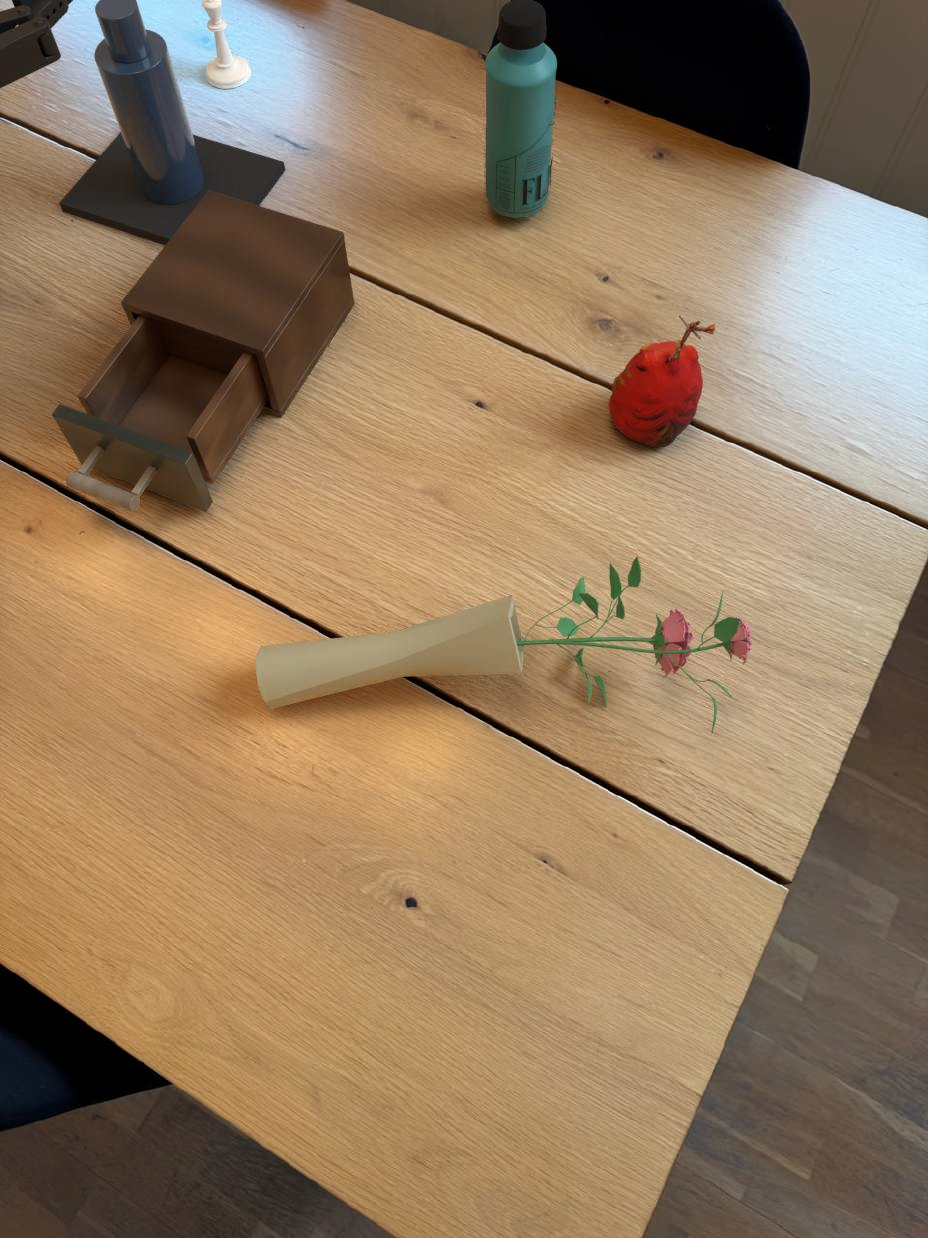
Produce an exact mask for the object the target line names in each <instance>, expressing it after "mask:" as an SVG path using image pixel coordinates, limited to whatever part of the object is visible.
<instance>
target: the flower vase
mask: <svg viewBox="0 0 928 1238" xmlns="http://www.w3.org/2000/svg"><path fill="white" fill-rule="evenodd" d="M641 581H642V568H641V564H640V560H639V557H638V555H637V556H636V557H635V558H634V560H632V563H631V567H630V570H629V573H628V574H627V585H626V586H625V587H624V588H623V585H622V581H621V578H620V574H619V573H618V571H617V570H616V568H615V567H614V566H613V564H612V562H609V587H610V598H611V599H612V600H611V601H610V605H609V609H608V613H607V616H606V619H605V620H604V622H603V623H602V625H601V626H600V627H599V628H598V629H597V630H596V631H595V632H594V633H593V634H592V635H591V636H590V637H573V636H576V634H577V633H578V631H579V629H580V628H579V627H580V626H582V625H583V624H587V623H588V622H590V621H592V620H594V619H597V620H599V605H600V604H599V602H598V600H597V598H596V597H594V596H593V595H591V594H590V593H586V584H585V583H586V582H585V576H582V577H580V578H579V580H578V581H577V584H576V585H575V587H574V588H573V591H572V597H571V600H570V601H569V602H567V603H566V604H565V605H563V606H560V608H557V609H556V610H554V611H552V612H550V613H548V614H546V615H544V616H543V617H541V618H539V620H537V621H536V622H535V623H534V624H532V626H531V627H530V629H529V630H528V631H527V633H526V635H525V637H524V639H523V636H522V632H521V628H520V623H519V618H518V614H517V609H516V604H515V600H514V596H513V594H509V595H507V596H504V597H500V598H497V599H493V600H491V601H488V602H484V603H481V604H478V605H474V606H471V607H468V608H465V609H462V610H459V611H456V612H452V613H449V614H446V615H443V616H440V617H436V618H433V619H429V620H426V621H424V622H421V623H418V624H414V625H411V626H408V627H404V628H401V629H398V630H394V631H389V632H382V633H381V632H380V633H371V634H360V635H352V636H351V635H350V636H344V637H343V636H342V637H334V638H325V639H314V640H313V639H312V640H305V641H295V642H286V643H285V642H284V643H278V644H276V643H275V644H267V645H260V646H259V649H258V651H257V653H256V655H255V675H256V681H257V687H258V690H259V692H260V695H261V697H262V700H263V702H264V704H266V705H267V707H269V708H270V709H271V710H273V709H277V708H281V707H285V706H289V705H292V704H296V703H297V704H298V703H301V702H305V701H309V700H313V699H316V698H321V697H325V696H329V695H334V694H338V693H342V692H346V691H350V690H353V689H354V690H355V689H358V688H361V687H362V688H363V687H365V686H370V685H374V684H378V683H383V682H386V681H391V680H394V679H398V678H404V677H425V676H427V677H428V676H473V675H477V676H478V675H479V676H480V675H519V674H522V671H523V664H524V657H525V649H526V647H525V646H537V645H557V646H559V647H560V648H561V649H563V650H565V652H567V653H568V654H569V655H571V657H573V658H574V661H576V664H577V665H578V666H579V669H580V671H581V672H582V673H583V674H584V676H585V677H586V680H587V706H589V704H590V702H591V698H592V696H593V695H592V694H593V693H592V692H593V685H592V681H591V678H593V680H594V681H595V683H596V685H597V687H598V688H599V690H600V692H601V696H602V698H603V699H602V700H603V702H604V705H605V708H607V707H608V705H607V703H608V702H607V691H606V687H605V682H604V680H603V678H602V676H601V675H600V674H598V675H594V676H593V675H592V674H590V673H589V672H588V671H587V670H586V669H585V668H584V663H583V654H584V649H585V648H584V647H594V648H595V647H596V648H605V649H614V650H615V649H616V650H621V651H630V652H637V653H645V654H653V655H654V658H655V659H656V660H655V665H654V666H657V665H658V664H659V665H660V667H661V669H660V670H661V672H664V674H665V675H663V676H662V679H664V678H667V676H668V675H669V674H670V673H671V672H672V671H673V672H672V674H673V675H675V674H676V673H677V672H678V671H679V669H680V670H681V671H682V672H683V673H684V674H685V675H686V676H687V677H688V678H689V679H690V680H691V681H692V682H693V683H694V684H695V685H696V686H698V687H699V688H700V689H701V690H702V691H704V692H705V693H706V694H708V695H709V696H710V698H711V700H712V703H713V708H714V709H713V720H712V727H711V734H713V733H714V730H715V726H716V722H717V714H718V703H717V699H716V698H715V697H714V696H713V695H712V694H711V693H709V692H708V691H707V690H705V688H703V687H702V686H701V685H700V684H698V683H697V682H699V683H706V682H711V683H713V684H715V685H717V687H719V688H720V689H721V690H723V692H725V694H726V695H728V697H730V698H732V695H731V694H730V692H729V691H728V690H727V688H725V687H724V686H723V685H722V684H721V683H720V682H718V681H716V680H714V679H710V678H707V679H706V680H705V679H704V680H699V679H696V678H694V677H692V676H691V675H690V674H689V673H687V672H686V670H684V669H683V667H684V666H685V665H686V664H687V663H688V660H687V658H689V657H690V656H691V654H693V653H697V652H698V653H699V652H702V651H708V650H712V649H717V648H720V647H723V648H724V649H725V651H726V653H727V654H728V655H729V658H730V659H729V661H730V662H732V660H733V659H732V658H733V656H735V657H737V658H738V659H739V660H740V659H742V660H743V662H742V663H741V664H742V665H744V664H746V663H748V656H749V653H750V652H751V650H752V645H753V642H752V641H751V639H752V634H751V632H750V631H751V627H750V625H748V624H746V623H745V622H744V621H743V619H742V618H741V617H740V615H738V616H735V617H732V616H728V617H726V618H723V619H721V620H719V621H718V619H719V617H720V613H721V609H722V606H723V599H724V598H723V596H724V591H722V592H721V595H720V601H719V605H718V608H717V611H716V615H715V616H714V617H715V618H714V619H713V621H712V622H711V623H710V624H709V625H708V626H707V627H706V628H705V629H704V631H703V632H702V634H701V644H699V646H697V647H696V648H692V647H691V646H689V644H691V642H692V641H693V640H694V634H693V632H690V630H691V629H692V624H691V623H690V622H688V621H687V619H686V617H685V614H684V612H681V611H680V610H679V609H678V608H677V607H675V608H674V610H675V611H674V610H673V609H670V610H669V615H668V617H666V618H665V619H664V620H663V621H662V619H661V618H660V616H659V615H658V614H657V613H655V617H656V622H657V624H656V628H655V632H654V635H652V637H636V636H635V637H633V636H595V635H597V633H598V632H600V630H601V629H602V628H603V627H604V626H605V625H606V623H608V622H609V621H610V620H611V619H612V618H613V617H615V618H618V619H621V620H624V618H625V616H626V612H625V605H624V603H623V600H622V597H621V595H622V594H623V592H624V591H625V590H626V589H627V588H636V589H638V588H639V586H640V584H641ZM614 601H615V602H614ZM572 602H574V603H575V604H576V605H579V606H581V605H582V604H583V603H584V604H585V605H586V606H587V608H588V609H590V611H591V612H592V613H593V615H594V616H593V617H592V618H590V619H588V620H586V621H584V622H582V623H580V624H578V625H577V624H576V622H575V621H574V619H572V618H569V617H567V616H566V617H564V616H563V617H560V618H559V621H558V623H557V625H556V626H543V625H539V624H538V623H539V622H541V620H543V619H545V618H546V617H549V616H550V615H552V614H554V613H556V612H558V611H559V610H562V609H563V608H565V607H567V606H568V605H570V604H571V603H572ZM613 602H614V604H613ZM612 604H613V607H612ZM614 608H615V615H612V613H613V611H614ZM535 626H537V627H540V628H543V629H545V628H546V629H548V628H549V629H550V628H551V629H553V628H555V629H557V630H558V631H559V633H560V634H561V636H562V637H563V638H554V639H551V638H550V639H535V640H534V639H533V640H526V639H527V638H528V635H529V634H530V632H531V630H532V629H533V628H534V627H535ZM713 626H714V628H713V629H714V630H713V636H712V637H710V638H708V639H706V640H705V641H704V640H703V639H704V638H703V637H704V634H705V633H706V631H707V630H708V629H709V628H711V627H713ZM564 637H565V638H564ZM571 637H572V638H571ZM712 639H717V640H718V641H720V642H719V643H715V644H712V645H706V646H703V645H704V644H706V643H707V642H709V641H711V640H712ZM599 642H600V643H599ZM601 642H602V643H601ZM603 642H606V643H603ZM607 642H636V643H637V642H642V643H649V644H651V645H652V647H653V648H652V649H646V648H638V647H631V646H625V645H624V646H623V645H617V644H616V645H615V644H607ZM562 645H564V646H565V645H567V646H584V647H581V648H580V649H579V650H578V651H577V652H576V654H575V655H573V654H572V653H571V652H570V651H569V650H568V649H566V648H565V647H563V646H562Z"/></svg>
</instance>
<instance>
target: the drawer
mask: <svg viewBox="0 0 928 1238" xmlns="http://www.w3.org/2000/svg"><path fill="white" fill-rule="evenodd" d="M77 398H78V400H79V402H80V404H81V406H82V408H83V409H84V411H85V412H83V411H80V410H77V409H75V408H72V407H69V406H67V405H64V404H61V403H59V404H58V405H57V406H56V408H55V409H54V410H53V412H52V413H51V416H52V418H53V419H54V421H55V422H56V424H57V426H58V428H59V429H60V431H61V433H62V435H63V436H64V438H65V439H66V442H67V443H68V445H69V446H70V448H71V450H72V452H73V453H74V455H75V456H76V458H77V460H78V461H79V463H80V465H81V466H80V468H78V470H77V471H76V470H74V471H71V472H69V473H68V475H67V476H66V481H65V484H66V486H67V488H69V489H71V490H74V491H76V492H79V493H81V494H85V495H87V496H89V497H92V498H94V499H97V500H99V501H103V502H105V503H107V504H110V505H112V506H114V507H117V508H120V509H123V510H125V511H128V512H130V513H135V512H137V510H138V509H139V508H140V505H141V496H142V494H143V493H144V491H146V490H148V491H150V492H153V493H155V494H158V495H160V496H163V497H165V498H169V499H171V500H174V501H176V502H179V503H180V504H184V505H187V506H190V507H192V508H194V509H197V510H200V511H202V512H205V513H207V512H208V510H209V509H210V507H211V506H212V504H213V502H214V500H213V498H212V495H211V493H210V490H209V488H208V486H207V484H206V483H208V484H211V485H214V483H215V482H216V481H217V479H218V477H219V476H220V475H221V473H222V472H223V470H224V468H225V467H226V466H227V464H228V462H229V461H230V459H231V458H232V456H233V455H234V454H235V452H236V450H237V448H238V447H239V446H240V444H241V443H242V441H243V440H244V438H245V436H246V435H248V432H249V431H250V429H251V427H252V426H253V424H254V423H255V421H256V420H257V419H258V417H259V416H260V414H261V412H263V411H262V409H263V408H264V406H265V405H266V403H267V402H268V400H269V396H268V393H267V389H266V386H265V382H264V379H263V375H262V372H261V369H260V365H259V362H258V358H257V355H256V354H253V353H250V352H247V351H244V350H241V349H238V348H235V347H232V346H229V345H227V344H224V343H221V342H218V341H215V340H212V339H209V338H206V337H203V336H200V335H197V334H195V333H192V332H189V331H186V330H183V329H180V328H177V327H174V326H171V325H168V324H165V323H163V322H160V321H157V320H154V319H151V318H148V317H145V316H142V315H139V316H138V317H137V318H136V320H135V321H134V322H133V324H132V325H130V326H129V328H127V330H126V332H125V333H124V334H123V335H122V336H121V338H120V339H119V340H118V342H117V343H116V344H115V346H114V347H113V348H112V349H111V351H110V353H109V354H108V355H107V356H106V357H105V359H103V361H102V362H101V364H100V365H99V367H98V368H97V369H96V371H95V372H94V373H93V375H92V376H91V377H90V378H89V380H88V381H87V382H86V384H85V385H84V386H83V388H82V389H81V390H80V392H78V394H77ZM93 470H95V471H98V472H100V473H103V474H105V475H107V476H111V477H113V478H116V479H119V480H121V481H123V482H127V483H129V484H132V485H134V487H133V488H132V489H131V492H130V491H128V490H125V489H123V488H120V487H118V486H115V485H112V484H109V483H106V482H105V481H102V480H99V479H97V478H94V477H91V476H89V475H90V474H91V472H92V471H93Z"/></svg>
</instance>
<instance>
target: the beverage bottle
mask: <svg viewBox="0 0 928 1238" xmlns="http://www.w3.org/2000/svg"><path fill="white" fill-rule="evenodd" d="M497 24H498V25H497V30H496V36H497V40H498V41H499V43H497V44H496V45H495V46H493V48H491V50H489V52H488V53H487V56H486V58H485V62H484V68H485V143H483V146H485V148H483V151H485V153H483V155H484V156H485V161H484V164H483V165H484V167H483V168H484V170H483V172H484V173H485V174H483V176H484V177H485V182H484V183H483V184H484V186H485V191H484V194H485V196H486V200H487V202H488V204H489V206H490V207H491V209H492V210H493V211H494V212H496V213H497V214H500V215H502V216H505V217H509V218H513V219H514V218H515V219H519V218H528V217H531V216H534V215H536V214H537V213H539V212H540V211H541V210H542V209H543V208H544V207H545V206H546V203H547V202H548V200H549V197H550V194H551V191H550V190H551V186H552V185H551V184H552V167H553V158H554V157H553V155H552V149H553V146H554V144H553V143H554V139H553V132H554V131H553V129H554V125H555V124H556V122H554V119H556V118H555V113H556V110H555V108H556V107H557V103H556V100H557V96H556V89H557V88H556V75H557V73H556V72H557V70H558V69H557V68H558V60H557V56H556V54H555V53H554V51H553V50H552V49H551V48H550V47H549V46H548V45H547V44H546V43H545V41H546V39H547V13H546V10H545V8H544V6H543V5H542V4H541V3H539V2H538V1H535V0H510V1H507V2H506V3H504V5H502V7H501V8H500V10H499V13H498V23H497Z"/></svg>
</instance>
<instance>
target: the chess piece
mask: <svg viewBox="0 0 928 1238" xmlns="http://www.w3.org/2000/svg"><path fill="white" fill-rule="evenodd" d="M201 5H202V7H203V9H204V11H205V13H206V14H207V16H208V18H209V20H208V21H207V23H206V28H207V29H208V31H210V32H212V33H213V34H214V42H215V49H216V50H215V51H216V57H215V58H212V59H211V60H210V61H209V62H208V64H207V65H206V68H205V75H206V76H205V78H206V81H207V82H208V84H210V85H211V86H213V87H214V88H217V89H222V90H231V89H235V88H238V87H240V86H242V85H244V84H246V83H247V82H248V81H249V80H250V78H251V75H252V69H251V66H250V63H249V62H248V60H247V59H246V58H244V57H243V56H240V55H238V54H232V50H231V48H230V45H229V44H228V43H229V42H228V41H227V37H226V34H225V31H224V30H226V29H227V28H228V21H227V19H225V18H224V17H222V9H223V8H222V7H223V2H222V0H202V2H201Z"/></svg>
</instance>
